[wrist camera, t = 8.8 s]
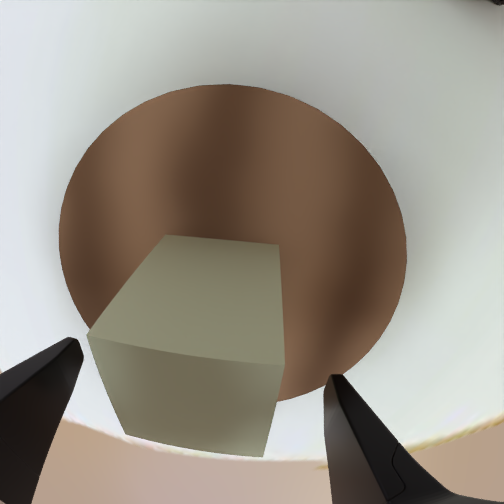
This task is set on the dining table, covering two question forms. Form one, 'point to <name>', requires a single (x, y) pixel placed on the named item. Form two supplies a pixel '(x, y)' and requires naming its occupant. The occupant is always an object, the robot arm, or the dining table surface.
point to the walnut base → (244, 214)
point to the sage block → (196, 345)
